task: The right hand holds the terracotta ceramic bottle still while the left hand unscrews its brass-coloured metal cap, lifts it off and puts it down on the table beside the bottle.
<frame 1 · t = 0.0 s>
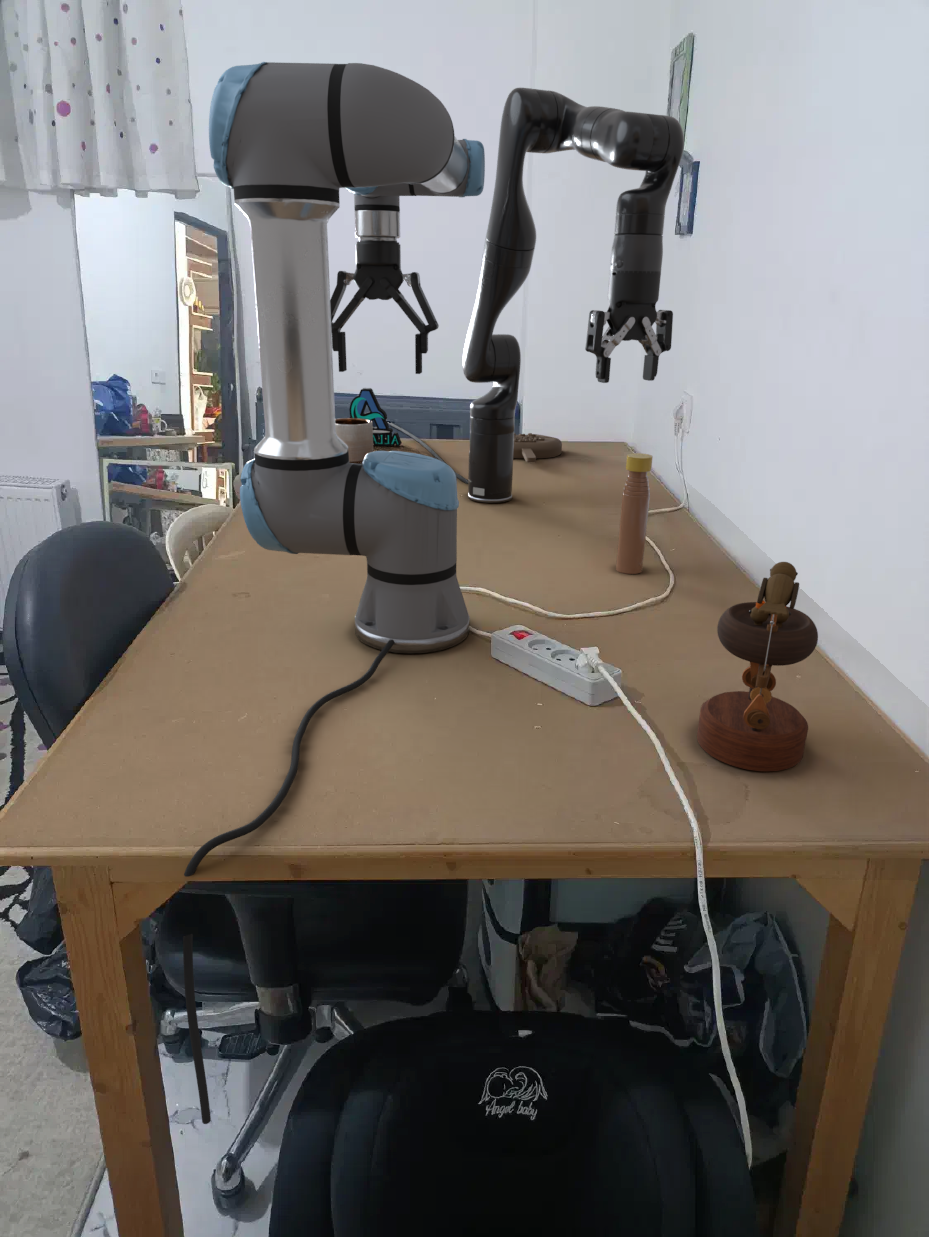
left hand: (380, 372, 149), 28 cm above the table, tool pointing down, fingers open, 13 cm apart
right hand: (625, 381, 132), 29 cm above the table, tool pointing down, fingers open, 8 cm apart
bottle: (628, 569, 138), on the table
decorative sign: (367, 445, 233), on the table
cap: (639, 457, 131), point 18 cm above the table, screwed on, not yet turned
dog toy: (331, 485, 189), on the table
ice cream bar: (525, 457, 221), on the table
planter: (352, 460, 214), on the table
music box: (747, 741, 88), on the table
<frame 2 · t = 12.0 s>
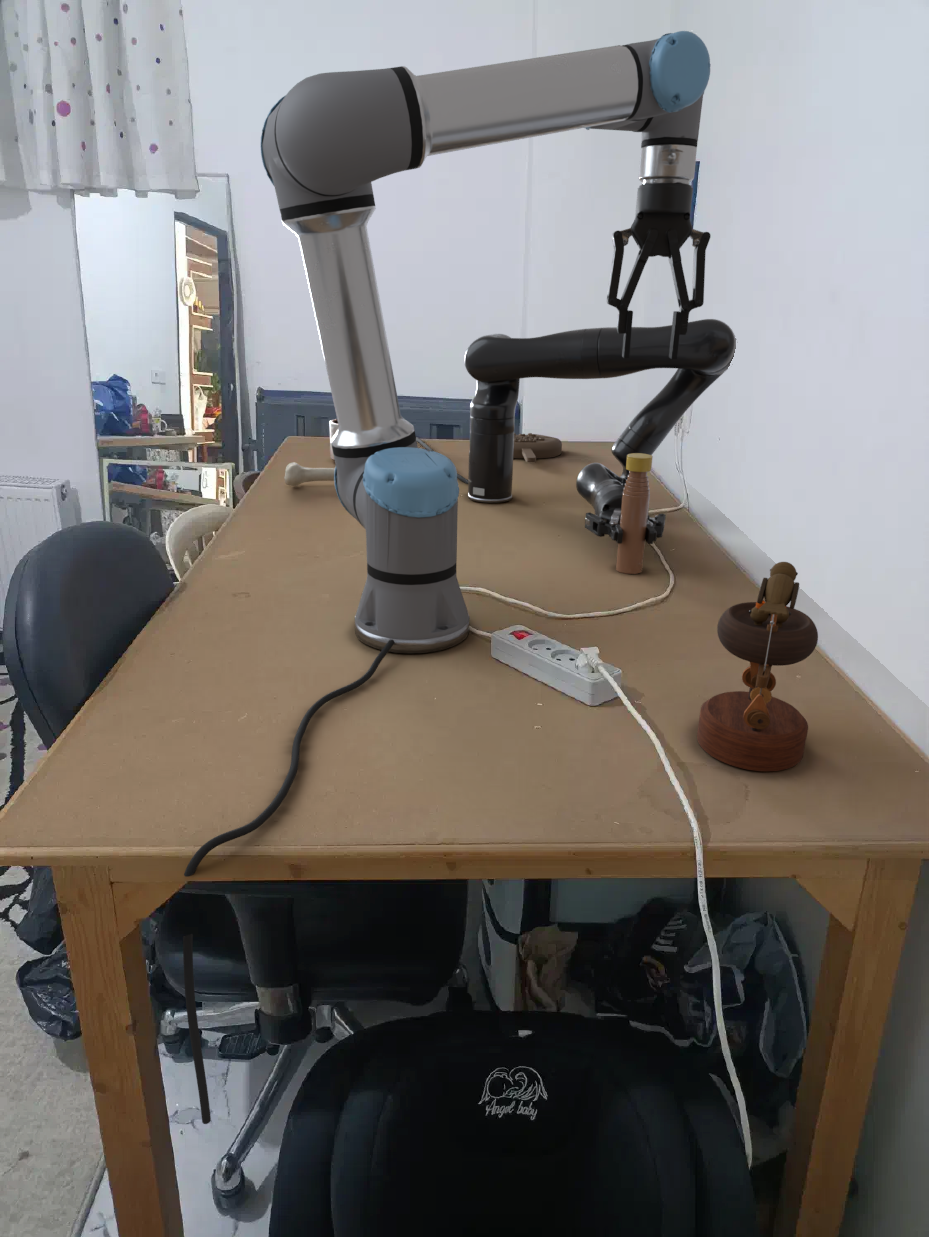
left hand: (649, 357, 125), 33 cm above the table, tool pointing down, fingers open, 6 cm apart
right hand: (635, 537, 133), 6 cm above the table, tool horizontal, fingers closed on bottle, 4 cm apart
bottle: (628, 569, 138), on the table, touching right hand
everything else where it was.
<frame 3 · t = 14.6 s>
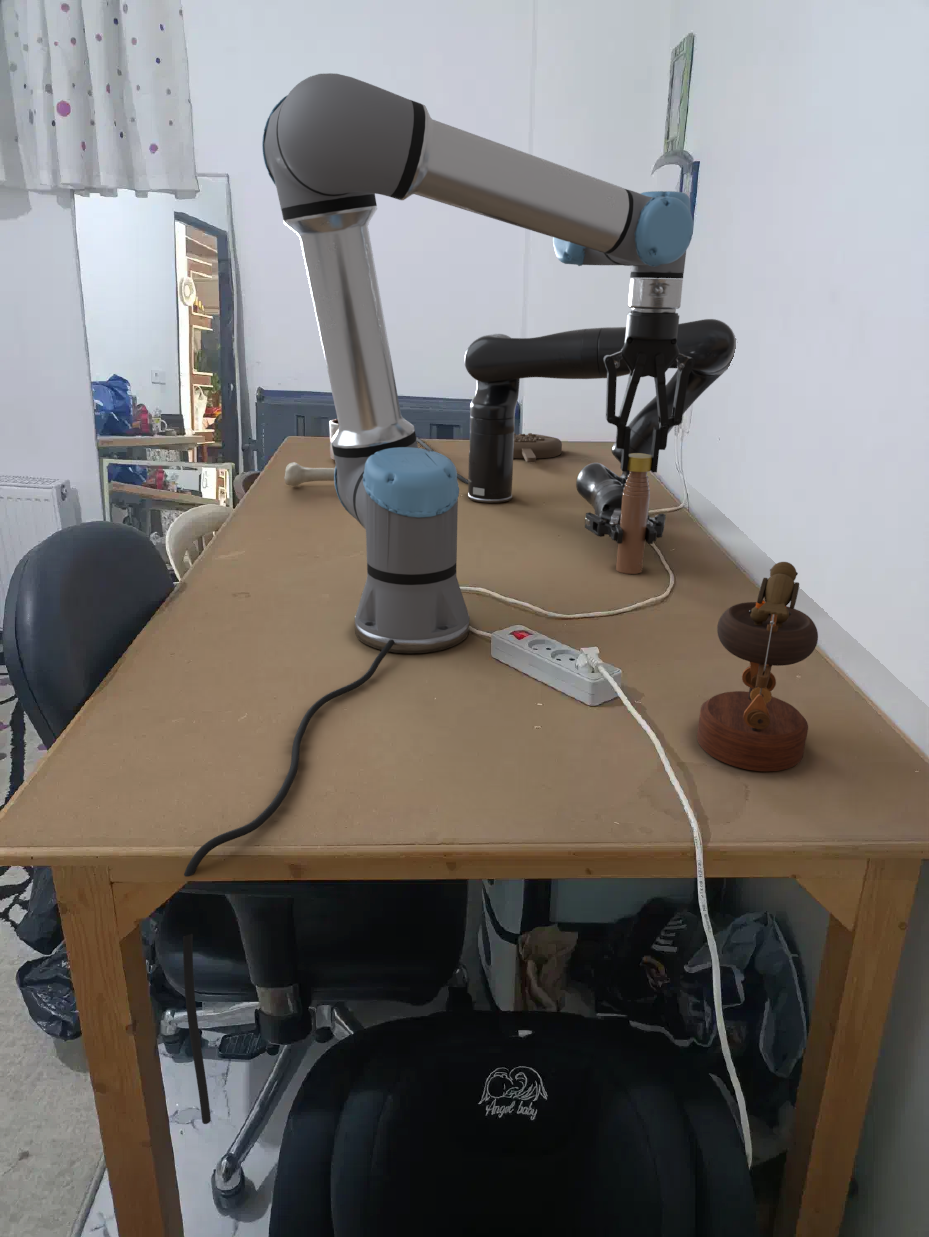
left hand: (638, 469, 132), 17 cm above the table, tool pointing down, fingers closed on cap, 4 cm apart
right hand: (635, 537, 133), 6 cm above the table, tool horizontal, fingers closed on bottle, 4 cm apart
bottle: (628, 569, 138), on the table, touching right hand
cap: (639, 457, 131), point 18 cm above the table, screwed on, not yet turned, touching left hand
everything else where it was.
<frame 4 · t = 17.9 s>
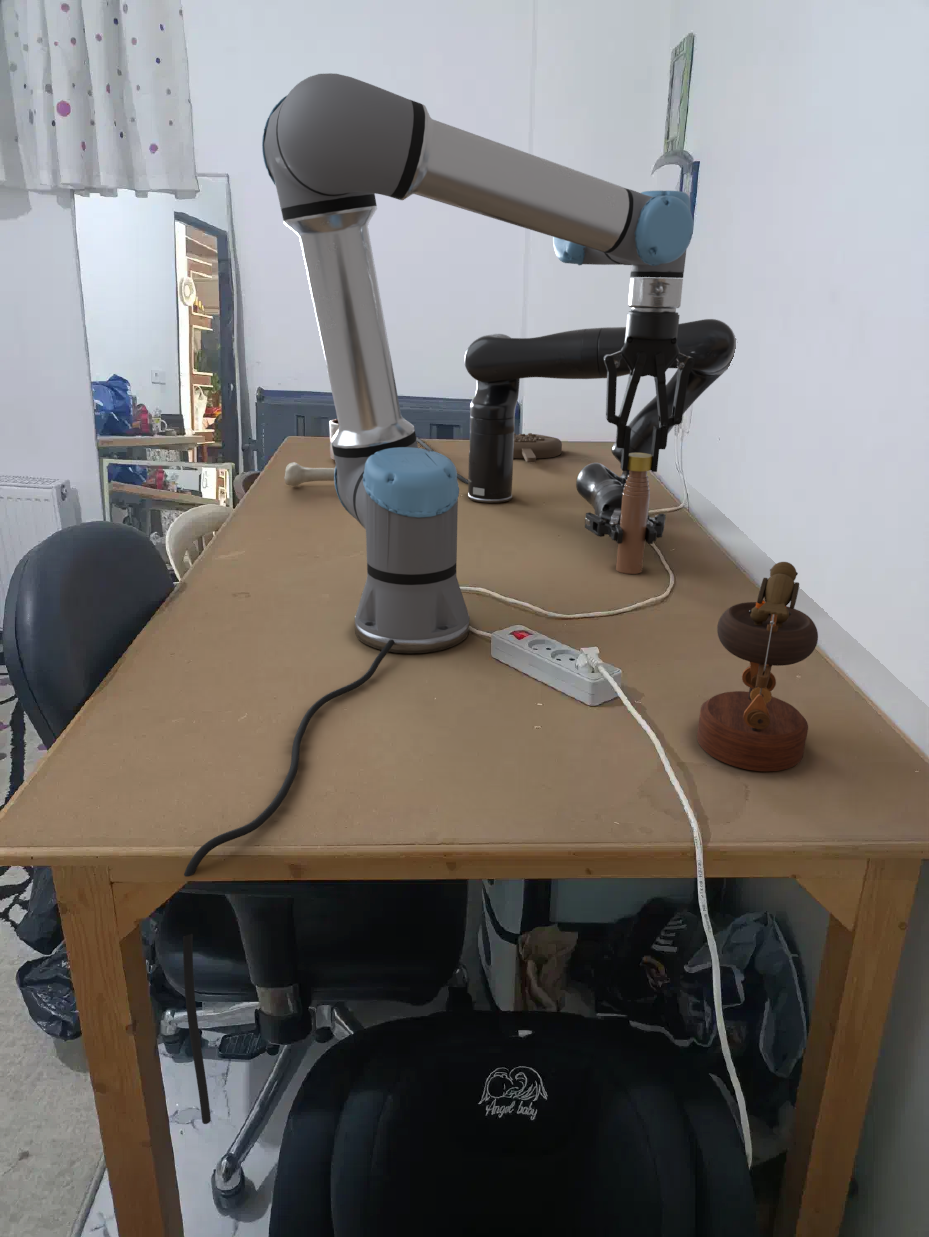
left hand: (638, 469, 132), 17 cm above the table, tool pointing down, fingers closed on cap, 4 cm apart
right hand: (635, 537, 133), 6 cm above the table, tool horizontal, fingers closed on bottle, 4 cm apart
bottle: (628, 569, 138), on the table, touching right hand
cap: (639, 457, 131), point 19 cm above the table, turned 105° so far, risen 0.1 cm, still on its thread, touching left hand
everything else where it was.
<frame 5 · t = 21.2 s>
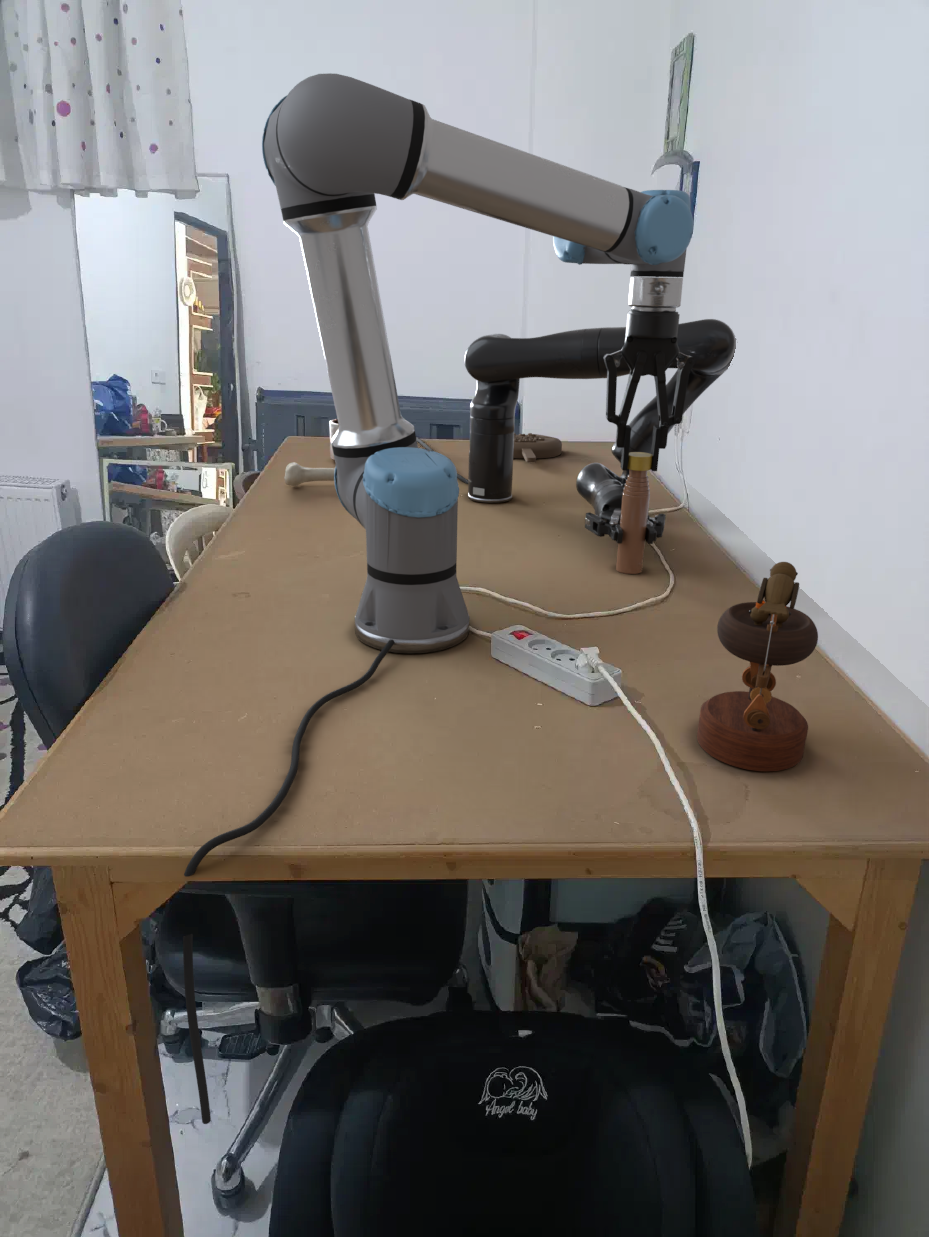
left hand: (638, 468, 132), 17 cm above the table, tool pointing down, fingers closed on cap, 4 cm apart
right hand: (635, 537, 133), 6 cm above the table, tool horizontal, fingers closed on bottle, 4 cm apart
bottle: (628, 569, 138), on the table, touching right hand
cap: (639, 456, 131), point 19 cm above the table, turned 211° so far, risen 0.2 cm, still on its thread, touching left hand
everything else where it was.
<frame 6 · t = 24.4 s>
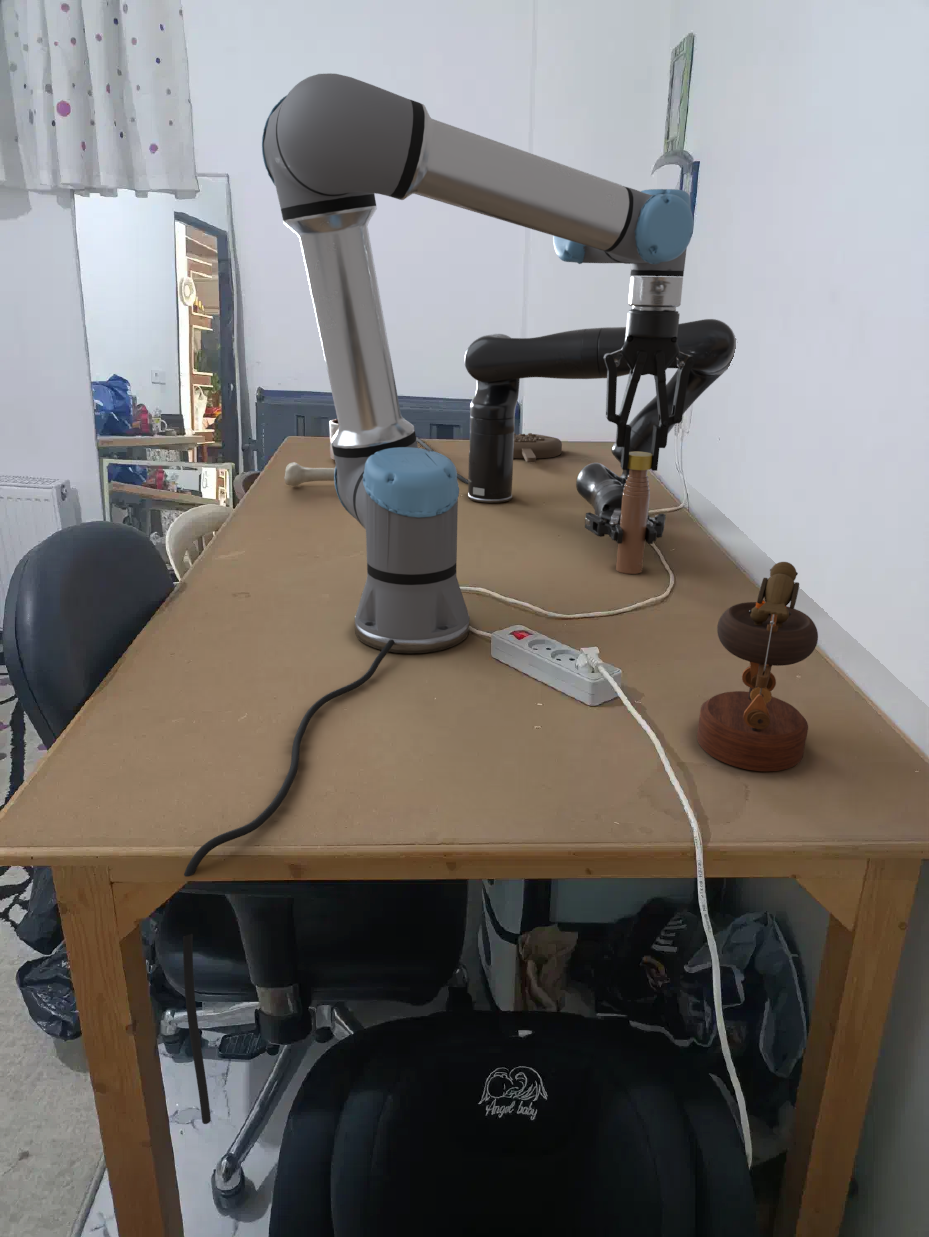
left hand: (638, 468, 132), 17 cm above the table, tool pointing down, fingers closed on cap, 4 cm apart
right hand: (635, 537, 133), 6 cm above the table, tool horizontal, fingers closed on bottle, 4 cm apart
bottle: (628, 569, 138), on the table, touching right hand
cap: (639, 455, 131), point 19 cm above the table, turned 316° so far, risen 0.3 cm, still on its thread, touching left hand
everything else where it was.
when the left hand's fingers open (2 cm above the table, at t = 31.6 s): cap drops 2 cm, point 2 cm above the table.
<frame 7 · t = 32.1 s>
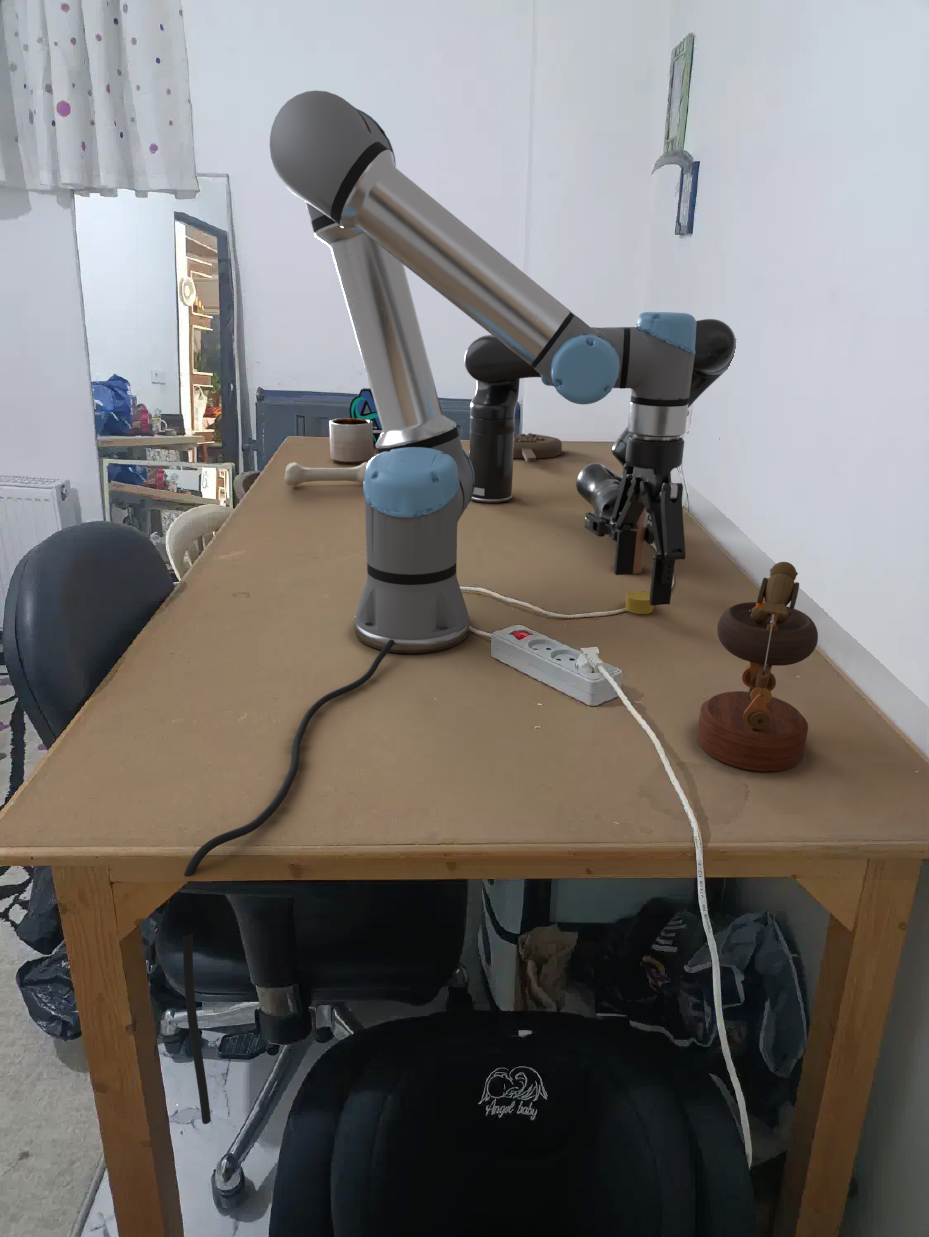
left hand: (640, 588, 121), 3 cm above the table, tool pointing down, fingers open, 12 cm apart
right hand: (635, 537, 133), 6 cm above the table, tool horizontal, fingers closed on bottle, 4 cm apart
bottle: (628, 569, 138), on the table, touching right hand
cap: (640, 597, 121), point 2 cm above the table, off its thread
everything else where it was.
when the right hand's fingers open (6 cm above the table, at t = 32.8 s): bottle stays where it is, on the table.
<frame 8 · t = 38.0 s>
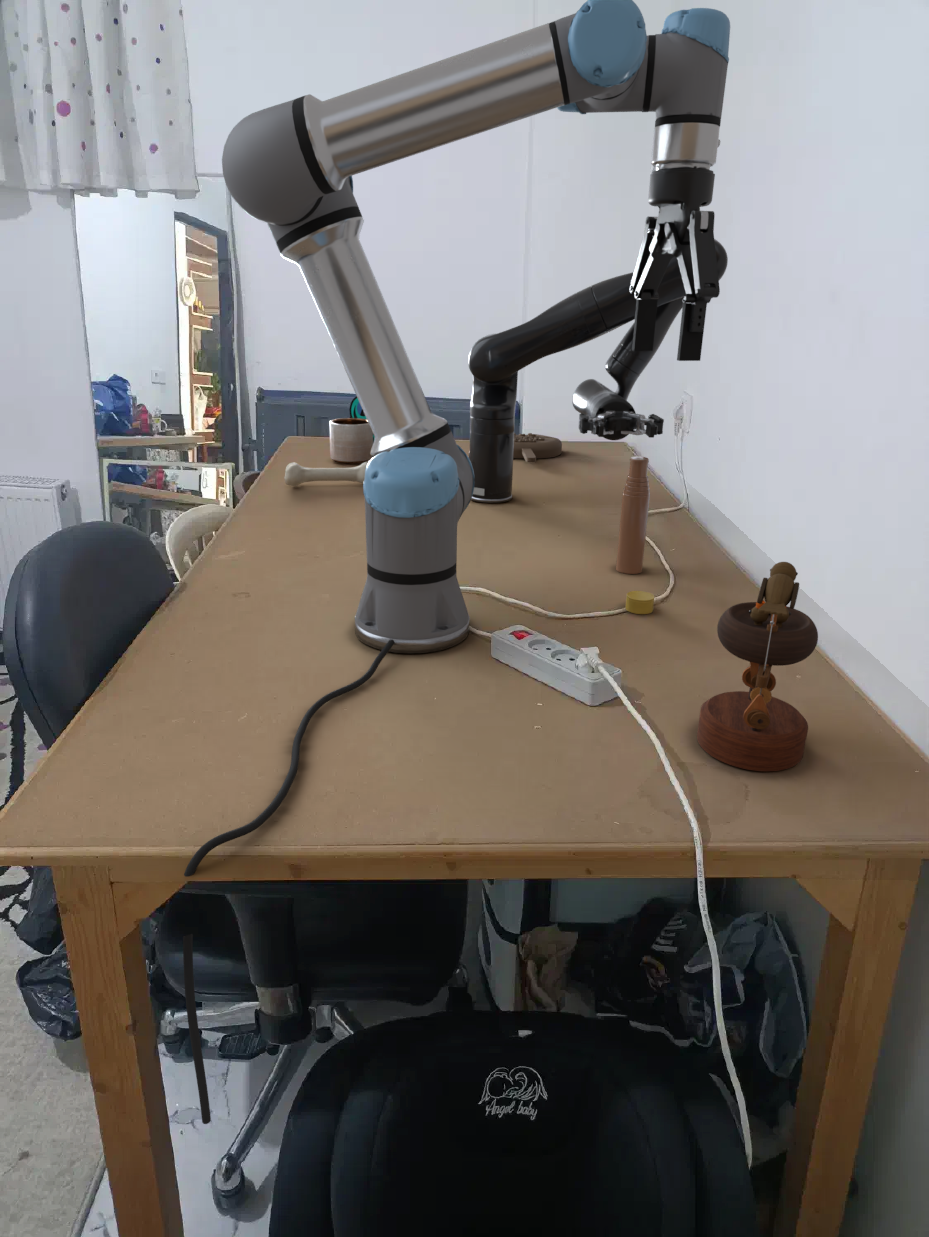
left hand: (664, 355, 109), 35 cm above the table, tool pointing down, fingers open, 13 cm apart
right hand: (627, 431, 141), 20 cm above the table, tool horizontal, fingers open, 8 cm apart
bottle: (628, 569, 138), on the table
everything else where it was.
at the end: cap came off its thread; cap point 1.8 cm above the table; the left hand is holding nothing; the right hand is holding nothing; bottle tilted 0°; bottle moved 0.0 cm from its start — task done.
